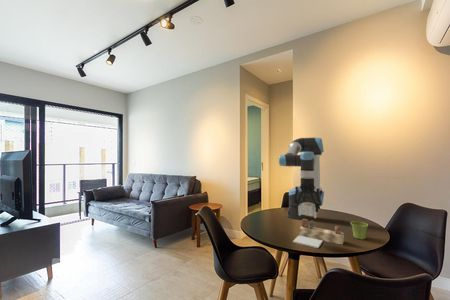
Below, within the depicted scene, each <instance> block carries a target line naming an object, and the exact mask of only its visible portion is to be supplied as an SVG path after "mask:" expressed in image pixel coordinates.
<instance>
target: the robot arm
mask: <svg viewBox="0 0 450 300" xmlns="http://www.w3.org/2000/svg"><path fill="white" fill-rule="evenodd" d="M324 152H325V151H324V143H323V138H321V137H315V136H314V137H300V138H297V139H294V140H292V141H291V142H290V143H289V145H288V148H287V151H286V152H285V153H284V154H281V155H279V156H278V164H279V166H280V167H300V177H301V178H300V185H299V186H297V185H296V186H295V188H290V189H289V191H288V209H287V212H286V217H287V218H289V219H293V220H302V219H307V215H302V214H298V205H300V204H301V203H305V202H308V203H312V204H315V206H314V215H313V218H314V219H316V218H317V213H319V207H321V206H323V203H324V197H325V190H323V188H321V169H320V168H321V164H320V163H321V161H320V160H321V159H320V158H321V156H322V154H323V153H324ZM299 153H300V154H299Z"/></svg>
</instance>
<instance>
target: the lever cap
mask: <svg viewBox="0 0 450 300" xmlns="http://www.w3.org/2000/svg"><path fill="white" fill-rule="evenodd" d="M314 206H315V204H312V203H308V202H305V203H301V204H300V205H298V214H302V215H306V216H308V217H314Z"/></svg>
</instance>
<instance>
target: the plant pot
mask: <svg viewBox="0 0 450 300" xmlns="http://www.w3.org/2000/svg"><path fill="white" fill-rule="evenodd" d="M349 223H350V225H351V228H352V233H353V238H355V239H359V240H365V239H366V236H367V229H368V227H369V224H368V223H366V222H363V221H350V222H349Z"/></svg>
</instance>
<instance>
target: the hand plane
mask: <svg viewBox="0 0 450 300" xmlns="http://www.w3.org/2000/svg"><path fill="white" fill-rule="evenodd" d="M301 221H302V222H301V226H300V227H299V236H304V237H309V238H313V239H318V240H322V241H323V242H327V243H332V244H337V245H340V244H341V246H343V244H344V241H345V240H344V239H345V234H344V232H342V227H341V226H340V225H335V226H334V230H330V229H324V228H320V227H319V228H318V227H314V220H313V219H312V220H310V221H309V219H307V218H305V219H301Z"/></svg>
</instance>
